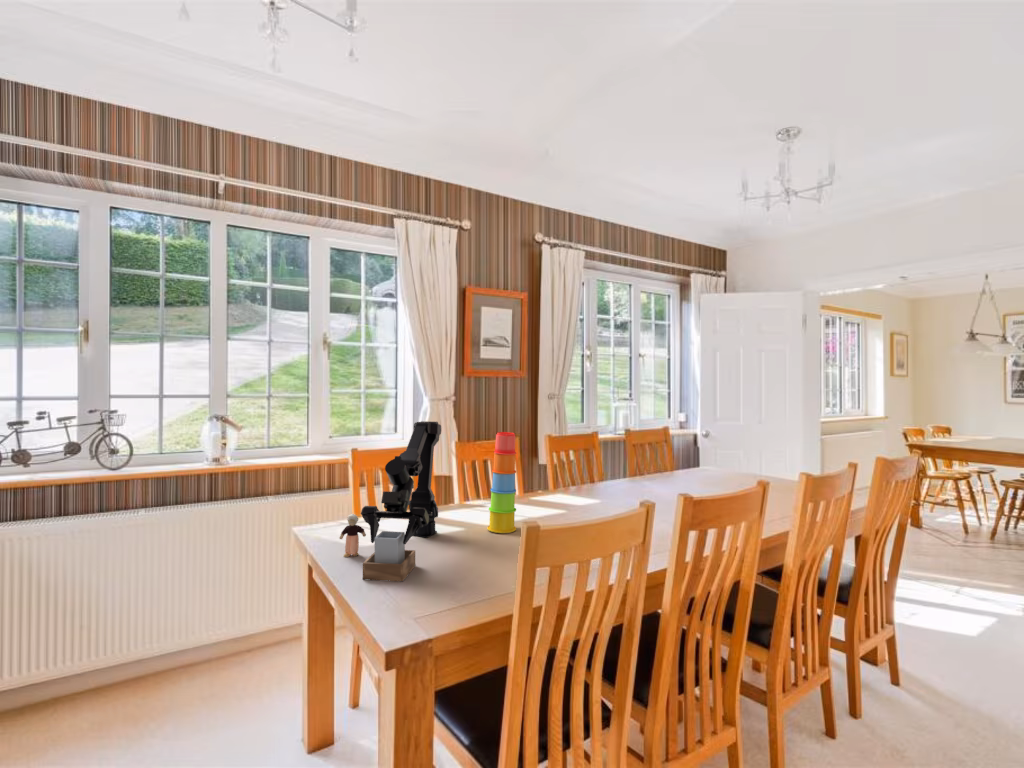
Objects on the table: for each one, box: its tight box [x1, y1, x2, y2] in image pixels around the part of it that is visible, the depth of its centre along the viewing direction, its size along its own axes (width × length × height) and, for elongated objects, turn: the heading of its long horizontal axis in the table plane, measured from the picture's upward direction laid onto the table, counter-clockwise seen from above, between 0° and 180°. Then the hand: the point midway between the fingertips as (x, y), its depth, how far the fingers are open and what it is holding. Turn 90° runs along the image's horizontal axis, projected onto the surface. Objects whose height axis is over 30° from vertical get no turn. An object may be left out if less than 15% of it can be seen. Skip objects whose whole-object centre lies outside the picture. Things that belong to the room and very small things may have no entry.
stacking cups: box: [487, 431, 517, 534], centre depth 181 cm, size 10×10×35 cm
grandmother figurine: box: [338, 513, 367, 558], centre depth 156 cm, size 8×4×13 cm, turn 117°
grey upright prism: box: [374, 530, 406, 564], centre depth 142 cm, size 6×6×10 cm
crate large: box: [362, 549, 416, 582], centre depth 142 cm, size 11×11×4 cm
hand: (388, 543), depth 141 cm, fingers open, 9 cm apart
